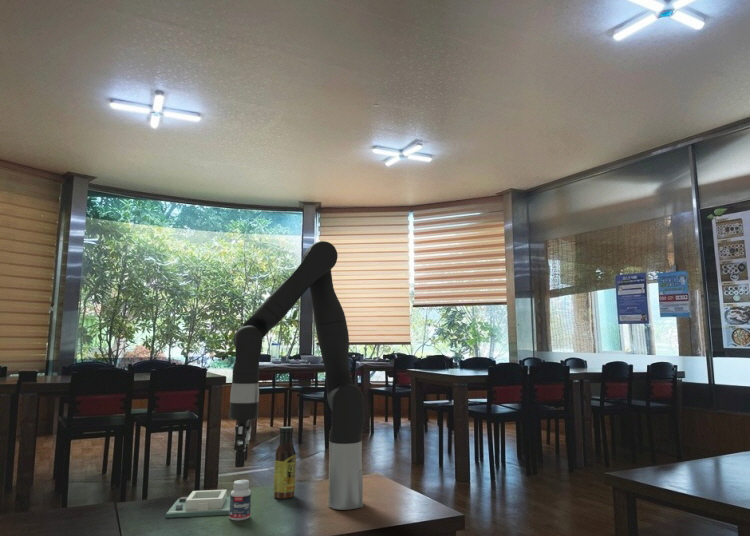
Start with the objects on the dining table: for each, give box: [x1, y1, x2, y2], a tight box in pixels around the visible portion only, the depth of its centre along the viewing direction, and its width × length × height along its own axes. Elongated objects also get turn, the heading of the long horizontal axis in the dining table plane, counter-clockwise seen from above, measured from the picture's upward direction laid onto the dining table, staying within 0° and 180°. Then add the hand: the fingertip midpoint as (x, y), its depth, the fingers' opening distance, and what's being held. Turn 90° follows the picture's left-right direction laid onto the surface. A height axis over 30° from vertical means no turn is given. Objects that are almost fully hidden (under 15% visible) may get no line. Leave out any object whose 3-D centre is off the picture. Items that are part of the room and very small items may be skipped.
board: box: [165, 489, 230, 519], centre depth 140 cm, size 18×14×4 cm
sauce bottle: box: [273, 426, 297, 500], centre depth 152 cm, size 6×6×20 cm
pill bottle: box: [228, 479, 252, 522], centre depth 132 cm, size 5×5×9 cm
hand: (241, 463), depth 133 cm, fingers open, 8 cm apart
